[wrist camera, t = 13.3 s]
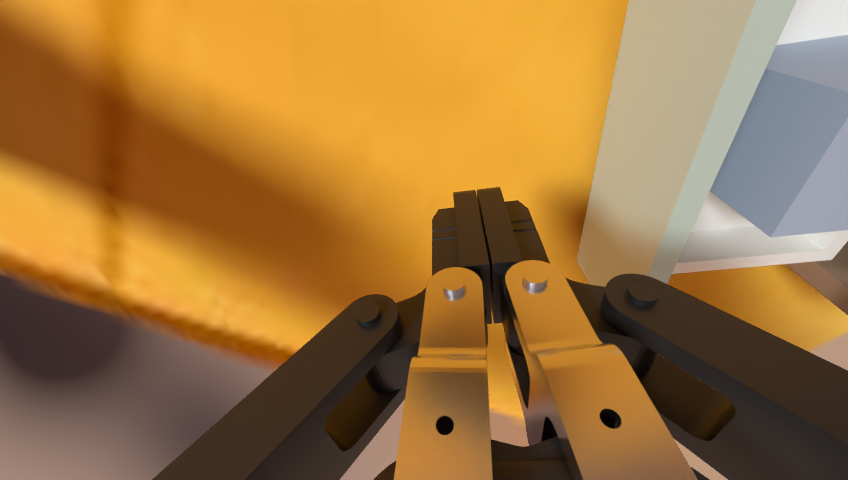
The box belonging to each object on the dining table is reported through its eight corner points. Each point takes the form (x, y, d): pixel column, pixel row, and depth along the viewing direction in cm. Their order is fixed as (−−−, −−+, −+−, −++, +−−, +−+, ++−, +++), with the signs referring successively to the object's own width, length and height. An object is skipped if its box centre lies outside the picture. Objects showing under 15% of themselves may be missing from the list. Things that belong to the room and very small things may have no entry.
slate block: (674, 164, 17) (770, 237, 12) (714, 54, 14) (862, 95, 9) (781, 151, 16) (923, 222, 12) (847, 34, 13) (1074, 67, 9)
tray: (576, 260, 23) (620, 344, 17) (665, -183, 11) (884, -325, 6) (763, 242, 22) (868, 326, 16) (1092, -269, 10) (1835, -539, 5)
